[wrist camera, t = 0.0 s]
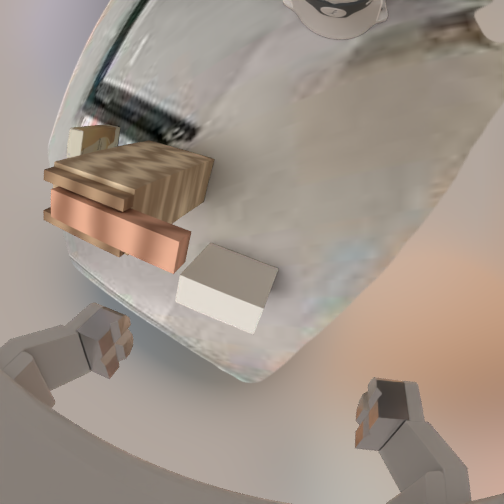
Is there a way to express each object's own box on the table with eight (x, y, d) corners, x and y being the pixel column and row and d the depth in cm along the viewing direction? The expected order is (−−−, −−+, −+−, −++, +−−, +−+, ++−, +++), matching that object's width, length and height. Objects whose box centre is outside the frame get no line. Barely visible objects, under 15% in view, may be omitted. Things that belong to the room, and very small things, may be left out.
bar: (191, 231, 33) (179, 241, 30) (185, 262, 35) (173, 273, 32) (66, 183, 35) (51, 189, 32) (65, 209, 37) (50, 216, 34)
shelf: (278, 268, 62) (263, 308, 49) (269, 291, 64) (253, 334, 52) (210, 242, 63) (180, 274, 50) (204, 266, 66) (175, 301, 53)
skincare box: (116, 153, 60) (79, 163, 49) (102, 149, 60) (65, 159, 50) (121, 125, 57) (83, 130, 46) (107, 122, 57) (68, 127, 47)
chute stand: (214, 159, 56) (125, 193, 31) (203, 201, 60) (118, 262, 35) (149, 140, 57) (44, 164, 32) (142, 180, 61) (43, 224, 36)
